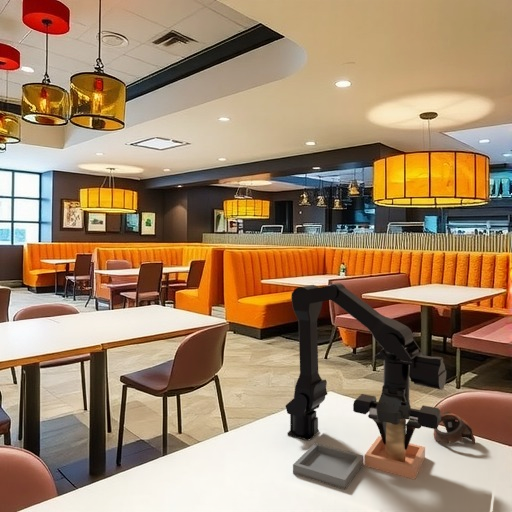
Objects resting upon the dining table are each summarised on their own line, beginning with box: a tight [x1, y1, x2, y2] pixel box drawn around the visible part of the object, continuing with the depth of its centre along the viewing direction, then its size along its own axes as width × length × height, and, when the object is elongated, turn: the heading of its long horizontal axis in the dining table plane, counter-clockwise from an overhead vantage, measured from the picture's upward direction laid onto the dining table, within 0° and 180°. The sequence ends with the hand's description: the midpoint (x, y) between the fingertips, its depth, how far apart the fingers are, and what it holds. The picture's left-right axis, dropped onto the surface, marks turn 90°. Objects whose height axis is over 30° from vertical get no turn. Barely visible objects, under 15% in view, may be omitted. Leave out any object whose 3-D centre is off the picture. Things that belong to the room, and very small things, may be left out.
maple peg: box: [386, 419, 407, 463], centre depth 103 cm, size 4×4×10 cm
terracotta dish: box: [364, 435, 426, 480], centre depth 103 cm, size 11×11×3 cm
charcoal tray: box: [292, 442, 364, 490], centre depth 100 cm, size 12×12×2 cm
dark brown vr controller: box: [433, 410, 476, 445], centre depth 114 cm, size 12×10×8 cm
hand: (395, 446), depth 103 cm, fingers closed on maple peg, 4 cm apart
